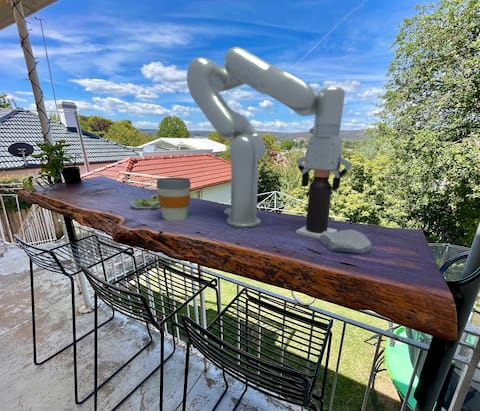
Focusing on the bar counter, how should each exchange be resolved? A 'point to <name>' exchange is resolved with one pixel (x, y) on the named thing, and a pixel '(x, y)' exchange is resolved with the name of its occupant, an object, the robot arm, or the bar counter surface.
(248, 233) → the bar counter surface
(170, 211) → the reusable coffee cup
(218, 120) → the robot arm
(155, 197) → the salad plate
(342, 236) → the stone block
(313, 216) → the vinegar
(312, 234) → the tile
